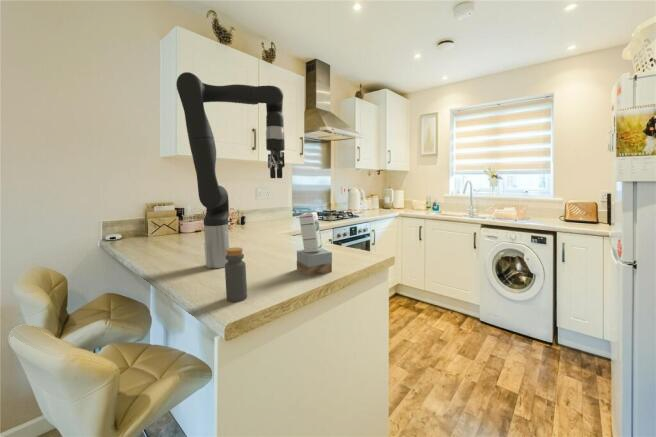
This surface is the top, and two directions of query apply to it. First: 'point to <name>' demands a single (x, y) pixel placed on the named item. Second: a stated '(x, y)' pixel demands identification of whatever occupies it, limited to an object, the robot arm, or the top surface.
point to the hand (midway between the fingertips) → (276, 178)
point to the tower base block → (314, 269)
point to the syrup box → (310, 232)
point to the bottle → (235, 275)
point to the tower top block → (314, 257)
